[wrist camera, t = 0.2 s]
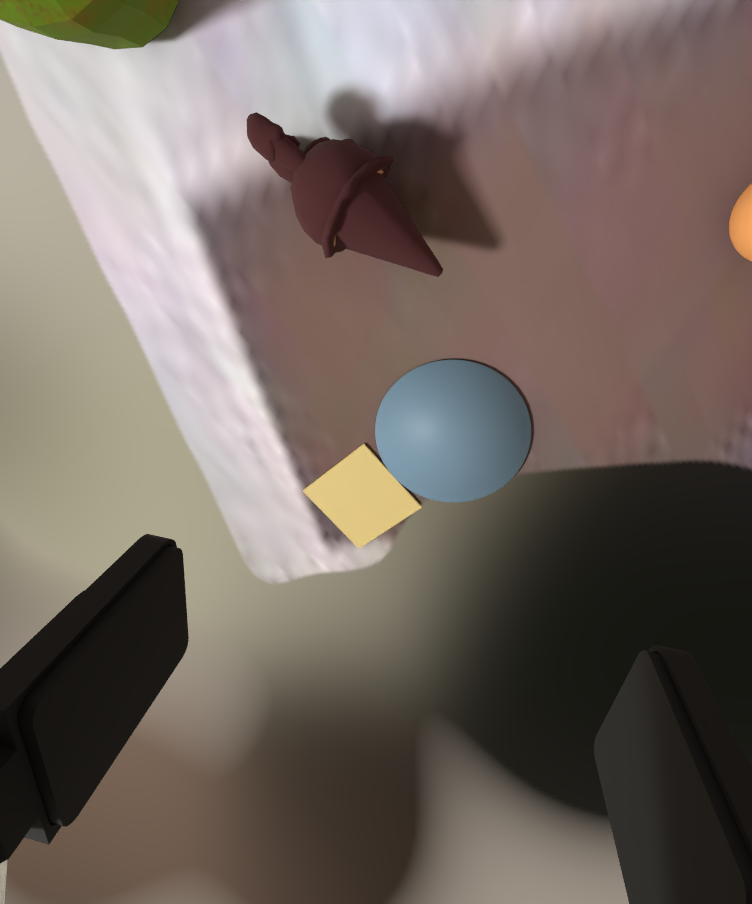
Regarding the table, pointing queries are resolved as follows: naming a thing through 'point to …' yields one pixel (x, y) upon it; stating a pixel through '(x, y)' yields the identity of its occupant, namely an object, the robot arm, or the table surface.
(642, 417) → the table surface
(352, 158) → the icecream
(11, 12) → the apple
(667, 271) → the table surface
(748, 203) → the ball
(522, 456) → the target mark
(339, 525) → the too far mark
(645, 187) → the table surface
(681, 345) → the table surface
